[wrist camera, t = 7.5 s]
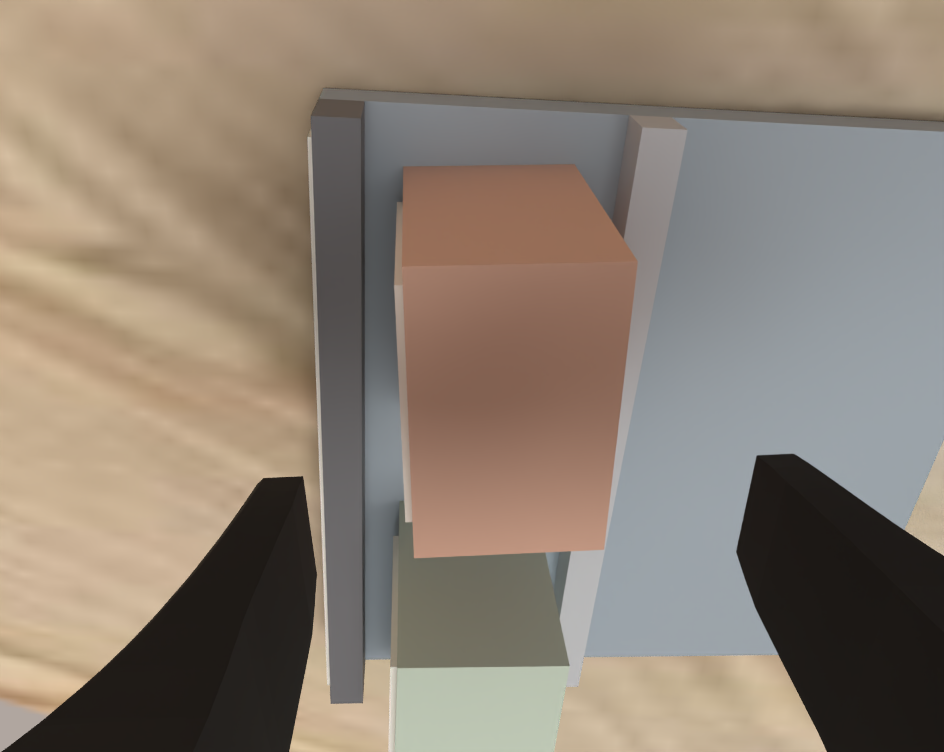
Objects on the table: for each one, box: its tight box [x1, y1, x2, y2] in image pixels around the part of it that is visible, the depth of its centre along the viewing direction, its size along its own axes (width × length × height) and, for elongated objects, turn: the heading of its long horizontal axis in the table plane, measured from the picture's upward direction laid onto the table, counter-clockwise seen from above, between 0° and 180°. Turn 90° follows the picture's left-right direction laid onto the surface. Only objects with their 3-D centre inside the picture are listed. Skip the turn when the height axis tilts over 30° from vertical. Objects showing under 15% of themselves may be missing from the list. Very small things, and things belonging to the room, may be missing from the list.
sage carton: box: [389, 501, 570, 752], centre depth 23 cm, size 6×4×6 cm, turn 176°
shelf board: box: [307, 88, 944, 704], centre depth 23 cm, size 18×18×3 cm
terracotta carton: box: [394, 164, 638, 558], centre depth 18 cm, size 6×4×6 cm, turn 0°
